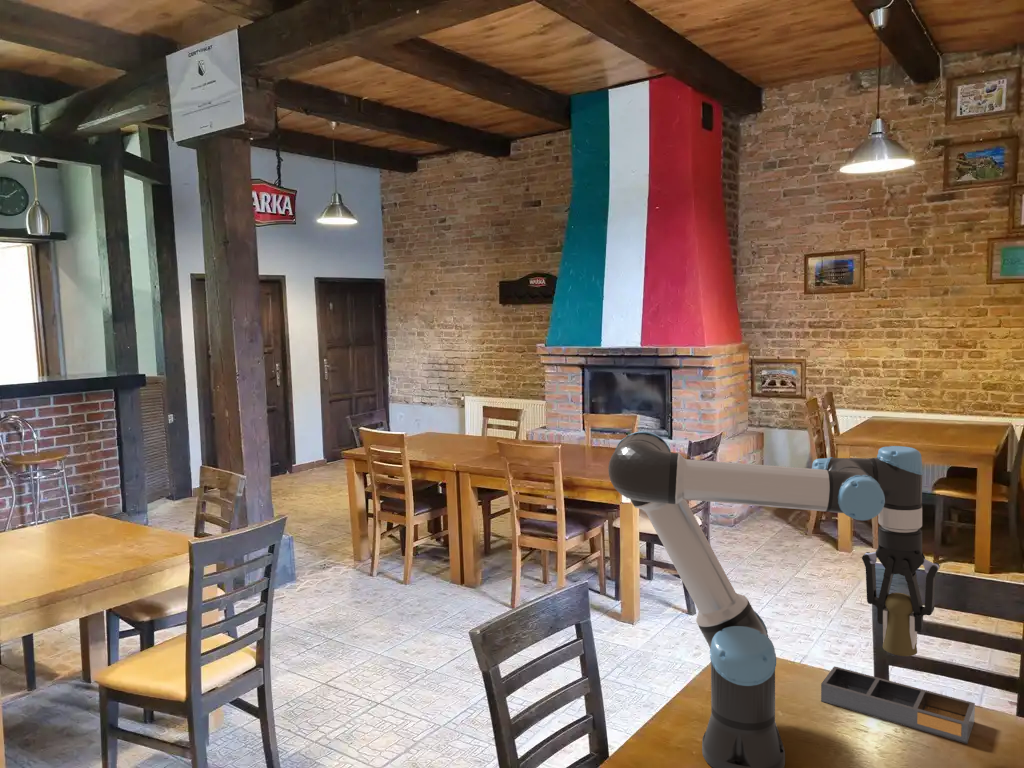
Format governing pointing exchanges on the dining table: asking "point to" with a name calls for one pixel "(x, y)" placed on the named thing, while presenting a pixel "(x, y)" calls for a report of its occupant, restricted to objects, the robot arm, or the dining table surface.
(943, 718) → the rack
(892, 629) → the olive pawn-shaped piece
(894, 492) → the robot arm
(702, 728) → the dining table surface
